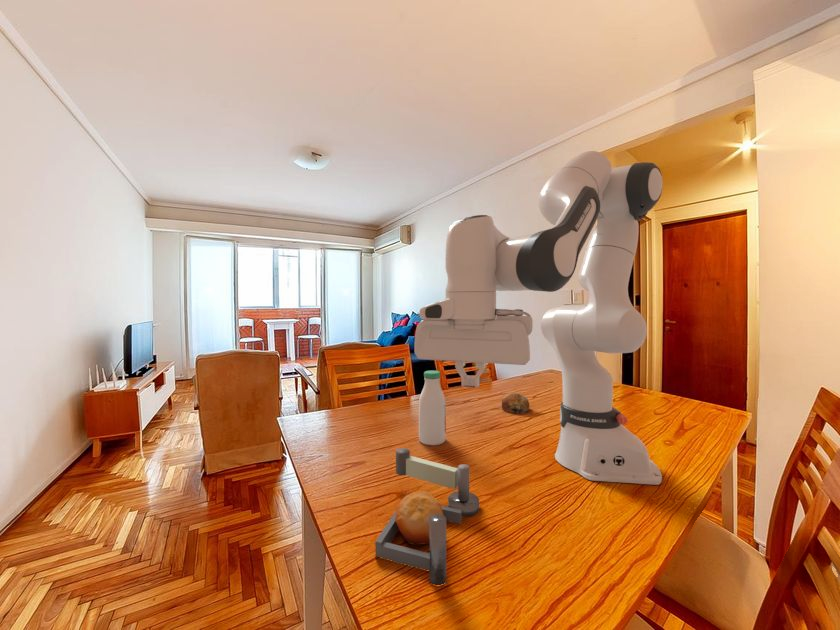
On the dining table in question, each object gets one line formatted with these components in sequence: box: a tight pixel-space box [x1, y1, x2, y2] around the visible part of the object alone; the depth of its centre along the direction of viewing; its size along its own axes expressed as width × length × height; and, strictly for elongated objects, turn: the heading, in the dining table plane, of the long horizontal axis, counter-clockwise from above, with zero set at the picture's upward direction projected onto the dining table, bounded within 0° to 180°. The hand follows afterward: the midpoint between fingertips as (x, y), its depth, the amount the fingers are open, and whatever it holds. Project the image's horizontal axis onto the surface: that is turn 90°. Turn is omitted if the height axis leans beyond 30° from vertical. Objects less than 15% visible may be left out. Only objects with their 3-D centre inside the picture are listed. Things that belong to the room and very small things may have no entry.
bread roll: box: [501, 392, 530, 414], centre depth 124 cm, size 10×10×8 cm
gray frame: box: [374, 495, 463, 572], centre depth 57 cm, size 11×13×2 cm
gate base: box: [447, 490, 480, 518], centre depth 65 cm, size 6×6×2 cm
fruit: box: [395, 490, 443, 545], centre depth 58 cm, size 8×8×8 cm
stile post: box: [429, 514, 447, 585], centre depth 48 cm, size 2×2×9 cm
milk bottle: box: [418, 370, 447, 446], centre depth 96 cm, size 8×8×20 cm
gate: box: [395, 447, 470, 502], centre depth 69 cm, size 3×17×6 cm, turn 61°
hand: (470, 386), depth 60 cm, fingers closed
